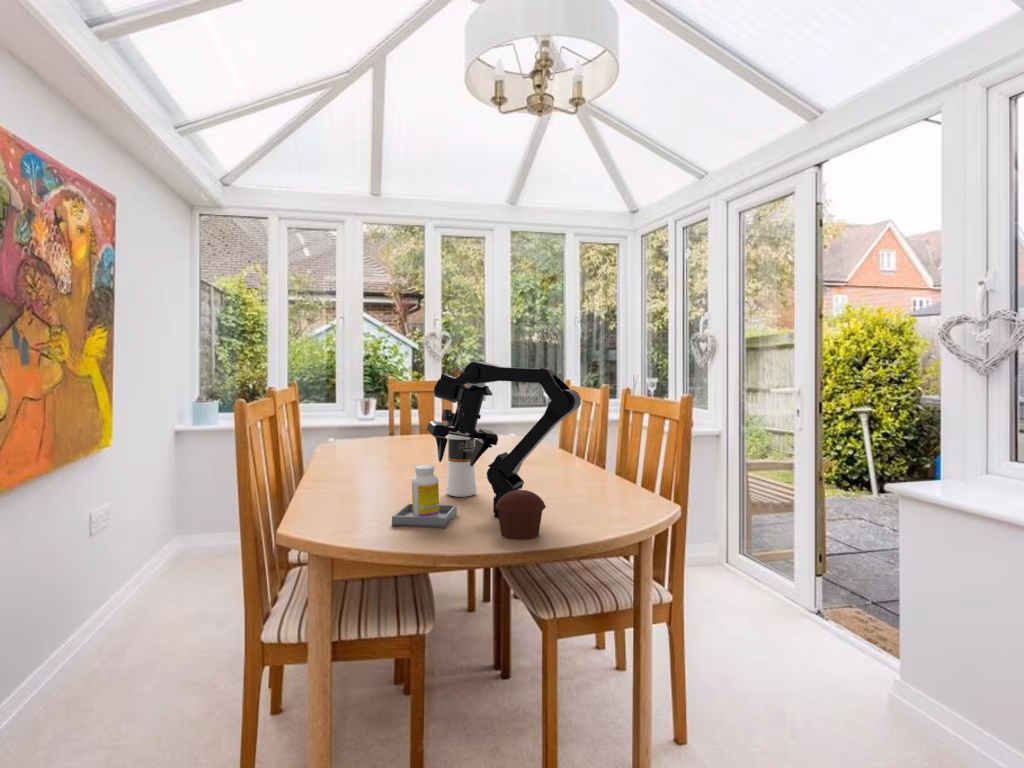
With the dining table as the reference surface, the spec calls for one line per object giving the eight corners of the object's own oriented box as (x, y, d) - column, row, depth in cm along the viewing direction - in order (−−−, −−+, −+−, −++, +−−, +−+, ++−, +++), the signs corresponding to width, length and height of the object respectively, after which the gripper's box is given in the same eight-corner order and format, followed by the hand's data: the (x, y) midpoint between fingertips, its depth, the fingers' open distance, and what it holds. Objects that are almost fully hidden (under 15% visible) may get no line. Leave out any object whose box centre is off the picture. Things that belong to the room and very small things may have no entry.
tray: (456, 514, 156) (456, 505, 156) (445, 528, 143) (445, 518, 143) (407, 512, 158) (407, 503, 157) (391, 526, 144) (391, 516, 144)
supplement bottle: (444, 516, 150) (443, 466, 149) (423, 522, 146) (422, 471, 145) (428, 511, 155) (427, 462, 154) (407, 517, 150) (405, 466, 149)
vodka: (458, 489, 186) (458, 393, 185) (482, 493, 181) (483, 394, 180) (439, 495, 178) (439, 395, 177) (464, 499, 173) (464, 396, 172)
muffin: (492, 540, 133) (493, 496, 133) (496, 527, 144) (496, 486, 144) (546, 541, 133) (546, 497, 132) (545, 528, 144) (546, 486, 143)
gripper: (489, 407, 170) (475, 459, 171) (428, 395, 162) (414, 450, 163) (505, 416, 160) (490, 471, 161) (440, 404, 152) (426, 462, 153)
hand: (455, 463), depth 160 cm, fingers open, 9 cm apart
